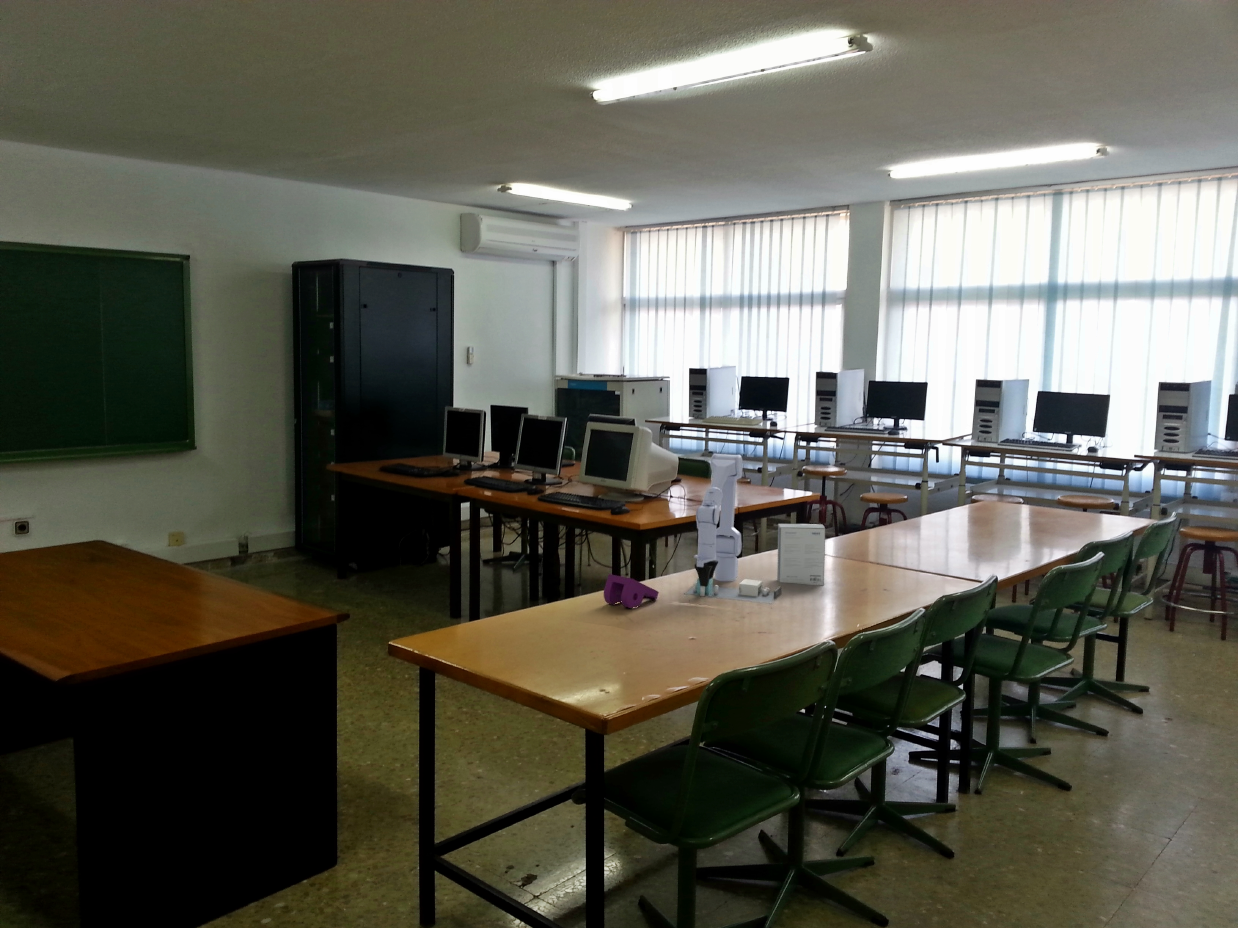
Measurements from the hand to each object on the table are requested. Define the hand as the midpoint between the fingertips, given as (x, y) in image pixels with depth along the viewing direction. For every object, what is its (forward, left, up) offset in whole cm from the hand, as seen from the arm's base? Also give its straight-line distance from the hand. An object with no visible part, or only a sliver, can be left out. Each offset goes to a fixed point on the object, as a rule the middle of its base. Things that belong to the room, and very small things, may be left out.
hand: (705, 584), depth 301 cm
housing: (-7, +13, -3) cm, 15 cm away
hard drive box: (-32, +24, -4) cm, 40 cm away
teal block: (0, 0, -3) cm, 3 cm away
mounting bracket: (+17, -18, -4) cm, 25 cm away
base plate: (-4, +8, -4) cm, 9 cm away
